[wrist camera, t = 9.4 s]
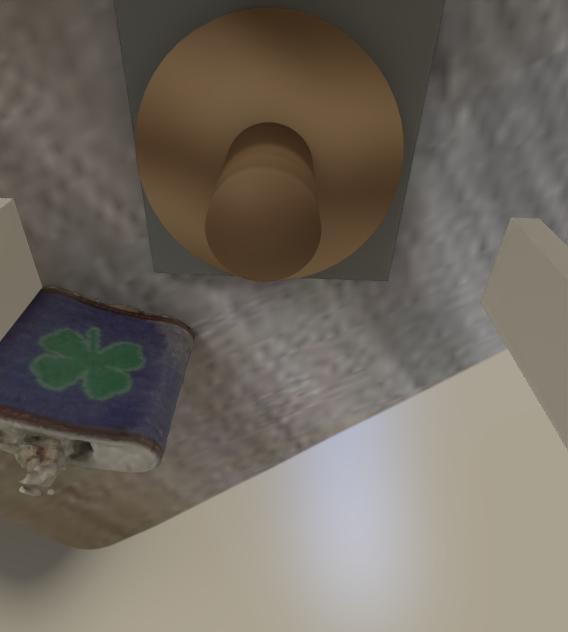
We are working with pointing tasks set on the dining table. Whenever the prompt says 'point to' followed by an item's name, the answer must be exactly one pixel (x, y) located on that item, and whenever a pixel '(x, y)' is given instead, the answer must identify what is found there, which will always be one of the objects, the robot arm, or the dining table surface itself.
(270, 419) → the dining table surface
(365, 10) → the mat
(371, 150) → the lid
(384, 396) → the dining table surface
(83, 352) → the flask
